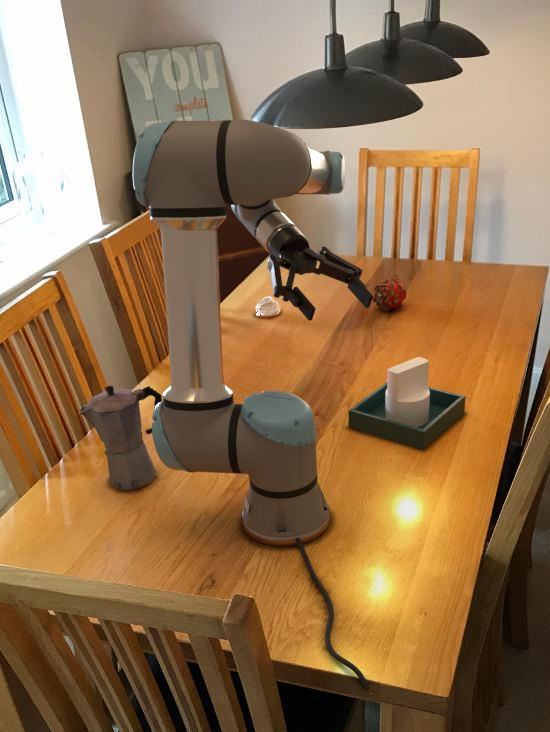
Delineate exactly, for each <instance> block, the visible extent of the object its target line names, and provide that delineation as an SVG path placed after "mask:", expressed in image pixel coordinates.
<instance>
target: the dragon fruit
mask: <svg viewBox="0 0 550 732" xmlns="http://www.w3.org/2000/svg"><path fill="white" fill-rule="evenodd" d="M373 290H374V294H373V298H372V302H373V303H375V305H376V306H377V307H381V308H382V310H383V311H386V312H390V311H391V310H392V309H396V310H397V309H401V308H402V307H403V301H405V299H406V298H407V290H406V289H405V286H404V284H403V283H402V281H400V280H398V279H396V278H391V279H389V280H388V279H387V280H384V281H382V282H381V283H380V284H379V285H375V286H374V288H373Z"/></svg>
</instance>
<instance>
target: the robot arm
mask: <svg viewBox="0 0 550 732" xmlns="http://www.w3.org/2000/svg"><path fill="white" fill-rule="evenodd" d="M345 181H346V162H345V156H344V154H343V152H340V151H330V150H325V151H317V150H315V149H312V148H309V147H308V145H307V143H306V142H305V141H304V140H303V139H302V138H301V137H300V136H299V135H297V134H296V133H293V132H291V131H288V130H286V129H283V128H280V127H278V126H274V125H271V124H267V123H264V122H261V121H256V120H250V119H224V120H221V119H220V120H170V121H162V122H154V123H151V124H149V125H147V126H146V127H145V128H144V129H143V130H142V132H140V134H139V137H138V139H137V142H136V144H135V148H134V152H133V160H132V185H133V190H134V191H135V197H136V200H137V202H138V203H139V204H140V205H142V206H144V207H145V208H146V207H147V208H149V220H150V221H151V222H153V224H155V226H156V227H158V229H159V230H160V235H161V249H162V250H161V252H162V265H163V280H164V295H165V311H166V325H167V341H168V355H169V370H170V385H169V386H168V387H167V388H166V389H165V391H163V392H162V401H161V402H159V403H158V404H157V405H156V407H155V406H154V407H155V409H154V408H153V412H152V420H153V421H152V423H151V428H152V433H151V434H152V439H153V444H154V449H155V451H156V453H157V456H158V458H159V461H161V462H162V463H163V464H164V466H165V467H166V468H168V469H170V470H173V471H183V472H187V473H212V474H213V473H214V474H234V475H235V474H237V475H239V474H241V475H248V479H249V480H248V481H249V489H248V493H247V495H246V494H245V495H244V499H243V505H244V507H243V510H242V514H241V515H242V525H243V529H244V531H245V533H246V534H247V535H248V536H249V537H250V538H251V539H253V540H255V541H256V542H258V543H261V544H264V545H268V546H272V547H273V546H274V547H294V546H297V547H298V549H299V551H300V554H301V555H302V559H303V561H304V563H305V566H306V568H307V571H308V573H309V575H310V577H311V579H312V581H313V582H314V584H315V585H316V587H317V588H318V590H319V592H320V593H321V595H322V596H323V599H324V600H325V603H326V605H327V610H328V616H327V622H326V626H325V630H324V643H325V647H326V649H327V651H328V653H329V654H330V656H331V657H333V658H334V659H335V660H336V661H337V662H339V663H341V664H342V665H343V666H345V667H347V668H348V669H350V670H351V671H352V672H354V674H355V675H356V677H357V678H358V680H359V681H360V682H361V685H362V687H363V690H365V691H370V685H369V682H368V680H367V679H366V677H365V675H364V674H363V672H362V671H361V670H360V668H358V667H357V666H356V665H355V664H353V663H352V662H351V661H350V660H348V659H346V658H344V657H343V656H341V655H340V654H338V653H337V651H336V650H335V649H334V648H333V645H332V642H331V631H332V627H333V622H334V614H335V613H334V605H333V602H332V599H331V597H330V595H329V593H328V592H327V590H326V589H325V587H324V586H323V584H322V583H321V582H320V579H319V578H318V575H316V572H315V571H314V568H313V566H312V563H311V561H310V559H309V556H308V554H307V551H306V549H305V547H304V544H305V543H309V542H311V541H313V540H315V539H317V538H318V537H320V536H321V535H323V534H324V533H325V531H326V530H327V529H328V527H329V525H330V521H331V520H330V517H331V515H330V507H329V504H328V502H327V499H326V497H325V495H324V492H323V490H322V488H321V486H320V483H319V481H318V462H317V460H318V459H317V433H318V432H317V428H316V422H315V416H314V411H313V409H312V407H311V405H309V404H308V402H306V401H304V399H303V398H301V397H300V396H297V395H295V394H293V393H289V392H285V391H279V390H264V391H261V392H260V393H259V392H254V393H251V394H250V395H248V396H247V397H246V398H245V399H244V400H243V401H242V403H235V402H234V391H233V389H232V388H231V387H230V386H229V385H228V384H226V383H225V381H224V364H223V341H222V340H223V337H222V318H221V317H222V315H221V293H220V271H219V270H220V269H219V268H220V267H219V248H218V229H219V227H220V226H221V224H222V223H223V222H224V221H225V220H226V218H227V206H230V208H231V210H232V212H233V213H234V215H235V216H236V218H237V220H238V221H239V222H240V223H241V224H242V225H243V226H244V227H245V228H246V230H247V231H248V232H249V233H250V234H251V235H252V236H253V238H254V239H255V240H256V241H257V242H258V243H259V245H260V246H261V247H262V248H263V249H264V250H265V251H266V253H268V254H269V256H268V259H267V262H266V263H267V264H266V269H267V270H268V271H269V273H270V280H271V281H270V282H271V288H272V294H273V295H272V296H273V297H274V298H276V299H279V298H280V297H282V299H281V300H282V301H283V302H284V303H287V302H289V303H291V305H292V306H293V307H294V308H297V309H298V311H300V312H301V314H302V315H303V316H304V317H305V318H306V320H307V321H312V320H313V319H314V315H315V312H316V307H315V305H314V304H313V303H312V302H311V301H310V299H308V297H306V295H305V294H304V292H303V291H302V290H301V289H300V288H299V287H298V286H294V281H295V278H296V275H299V276H302V275H305V274H315V275H318V276H320V275H323V276H326V277H328V278H330V279H334V280H336V281H338V282H342V283H343V284H346V285H347V289H348V290H349V291H350V292H351V293H352V295H354V297H355V298H356V299H357V300H358V301H359V302H360V303H361V305H362V306H363V307H364V308H365V309H369V308H370V306H371V303H372V302H373V297H374V294H372V293H371V291H369V289H368V288H367V286H366V284H365V283H364V282H363V281H362V279H361V277H362V274H363V269H362V268H361V267H359V266H356V265H355V264H354V263H352V262H350V261H348V260H347V259H344V258H343V257H341V256H339V255H337V254H335V253H334V252H332V250H330V249H329V248H328V247H326V246H321V247H320V250H317V251H316V250H314V249H312V248H311V247H310V244H309V241H308V239H307V237H306V236H305V235H304V234H303V233H302V232H301V231H300V229H299V228H298V227H297V226H296V224H295V223H294V222H292V220H291V219H290V218H289V217H288V216H287V215H286V214H285V213H284V211H283V210H282V209H281V208H280V207H279V206H278V205H277V203H276V201H275V200H276V199H277V200H278V199H281V198H282V199H283V198H289V197H292V196H294V195H326V196H327V195H328V196H329V195H333V194H334V195H337V194H341V193H342V192H343V191H344V189H345ZM318 262H319V265H318ZM317 265H318V267H317ZM281 268H283V269H285V270H287V271H288V274H287V277H286V281H285V285H283V279H282V272H281ZM293 286H294V287H293Z"/></svg>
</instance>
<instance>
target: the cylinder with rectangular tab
mask: <svg viewBox="0 0 550 732" xmlns="http://www.w3.org/2000/svg"><path fill="white" fill-rule="evenodd" d="M429 364H430V361H429V360H428V359H426V358H424V357H422V356H417V357H414V358H412V359H409V360H407V361H403V362H401V363H399V364H396V365H394V366H391V367H388V368H387V374H386V375H387V377H386V380H387V381H386V382H387V389H386V401H385V418H386V419H388V420H391V421H395V422H398V423H402V424H405V425H409V426H413V427H420V426H422V425H424V424H426V423H427V422H428V419H429V402H430V391H429V389H428V387H429V367H430V366H429Z"/></svg>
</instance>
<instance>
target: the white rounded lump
mask: <svg viewBox="0 0 550 732" xmlns="http://www.w3.org/2000/svg"><path fill="white" fill-rule="evenodd" d="M279 306H280V304H279V303H278V301H277V300H275V299H274V298H273V297H272V296H269V295H268V296H265V297H264V298H262V299H260V300H259V302H257V303H256V306H255V308H254V309H255V315H256V316H257V317H274V316H278V315H279V314H280V312H281V306H280V307H279ZM278 308H279V309H278ZM257 311H258V312H257ZM277 311H278V312H277ZM256 312H257V313H256ZM276 312H277V313H276ZM260 314H261V316H260Z"/></svg>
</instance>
